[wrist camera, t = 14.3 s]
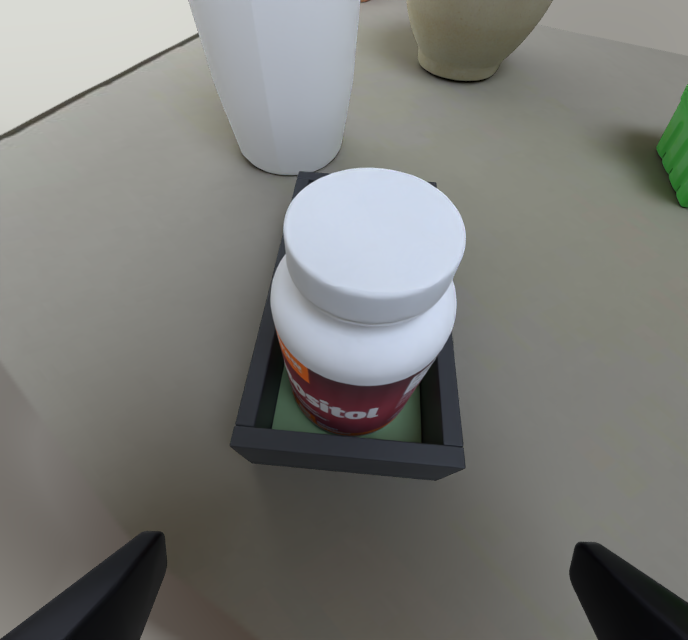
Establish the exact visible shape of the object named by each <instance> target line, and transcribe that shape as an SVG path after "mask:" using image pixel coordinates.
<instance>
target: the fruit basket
mask: <svg viewBox="0 0 688 640" xmlns="http://www.w3.org/2000/svg"><path fill="white" fill-rule="evenodd" d="M656 149H657V151H658V154H659V156H660V157H661V158H662V163H663V166H664V168H665V170H666V172H667V173H668V174H669V180H670V182H671V185H672V187H673V189H674V190H675V191H676V197H677V199H678V201H679V203H680V205H681V206H682V207H687V208H688V84H687V86H686V88H685V90H684V92H683V94H682V96H681V102H680V104H679V105H678V107H677V109H676V111H675V113H674V115H673V117H672V119H671V120H670V122H669V124H668V126H667V128H666V130H665V132H664V134H663V135H662V137H661V139H660V141H659V143H658V145H657V147H656Z"/></svg>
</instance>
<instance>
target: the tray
mask: <svg viewBox="0 0 688 640" xmlns="http://www.w3.org/2000/svg"><path fill="white" fill-rule="evenodd" d="M327 175H329V174H328V173H316V172H304V171H299V173H298V177H297V181H296V185H295V189H294V193H293V197H292V200H293V199H294V198H295V197H296V195H297V194H298V193H299V192H300V191H301V190H303V189H304V188H305V187H306V186H308V185H309V184H311V183H312V182H314V181H316V180H318V179H319V178H321V177H324V176H327ZM428 183H430V184H431V185H432V186H434V187H435V188H437V186H436V182H428ZM292 200H291V202H292ZM285 254H286V251H285V242H284V233H283V236H282V240H281V244H280V248H279V252H278V256H277V260H276V264H275V268H274V272H273V276H272V280H271V284H270V288H269V292H268V296H267V300H266V304H265V308H264V312H263V316H262V320H261V324H260V328H259V332H258V336H257V340H256V344H255V348H254V352H253V356H252V360H251V364H250V368H249V371H248V375H247V379H246V383H245V387H244V391H243V395H242V399H241V403H240V407H239V411H238V415H237V419H236V423H235V424H236V426H235V427H234V430H233V434H232V438H231V442H230V447H231V448H233V449H234V450H235V451H237V452H238V453H239V454H240V455H242V456H243V457H244V458H245V459H247V460H248V461H249V462H251V463H255V464H266V465H276V466H287V467H297V468H308V469H318V470H329V471H339V472H350V473H360V474H371V475H381V476H392V477H402V478H413V479H423V480H434V481H436V480H439V479H441V478H444V477H446V476H448V475H451V474H453V473H456V472H458V471H460V470H463V469H465V457H464V448H463V437H462V428H461V418H460V408H459V398H458V389H457V379H456V369H455V359H454V350H453V340H452V331H451V334H450V336H449V338H448V339H447V341H446V343H445V345H444V347H443V349H442V350H441V351H440V353H439V355H438V356H437V357H436V359H435V361H434V362H433V364H432V365H431V366H430V368H429V369H428V371H427V373H426V374H425V375H424V377H423V378H422V380H421V381H420V383H419V384H418V386H417V387H416V389H415V390H414V392H413V394H412V395H411V396H410V398H409V399H408V401H407V403H406V404H405V406H404V407H403V409H402V410H401V411H400V413H399V414H398V415H397V416H396V418H395V419H394V420H392V421H391V422H390V423H389V424H388V425H387V426H385V427H384V428H382V429H380V430H378V431H376V432H374V433H371V434H368V435H364V436H357V437H351V436H340V435H336V434H332V433H329V432H327V431H324V430H322V429H321V428H319V427H318V426H316V425H315V424H313V423H312V422H311V421H310V420H309V419H308V418H307V417H306V416H305V415H304V414H303V412H302V411H301V410H300V408H299V406H298V404H297V402H296V400H295V398H294V395H293V392H292V388H291V384H290V381H289V377H288V373H287V369H286V366H285V362H284V358H283V355H282V351H281V347H280V343H279V339H278V336H277V332H276V328H275V324H274V320H273V316H272V311H271V302H270V296H271V287H272V281H273V278H274V275H275V272H276V269H277V267H278V265H279V263H280V261H281V260H282V258H283V257H284V255H285Z"/></svg>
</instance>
